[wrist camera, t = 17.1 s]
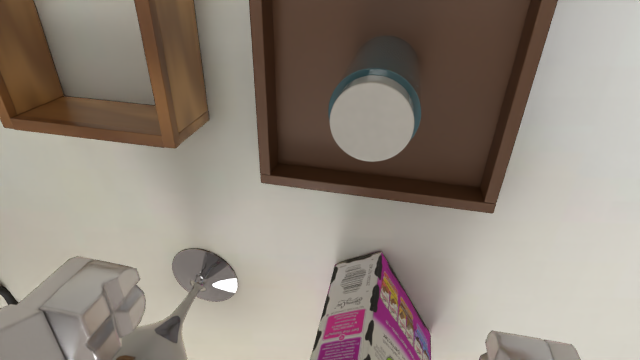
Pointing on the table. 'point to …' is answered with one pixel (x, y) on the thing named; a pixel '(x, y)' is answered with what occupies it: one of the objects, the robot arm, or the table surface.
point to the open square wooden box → (100, 115)
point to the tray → (436, 93)
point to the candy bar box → (369, 316)
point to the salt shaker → (377, 100)
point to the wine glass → (181, 306)
